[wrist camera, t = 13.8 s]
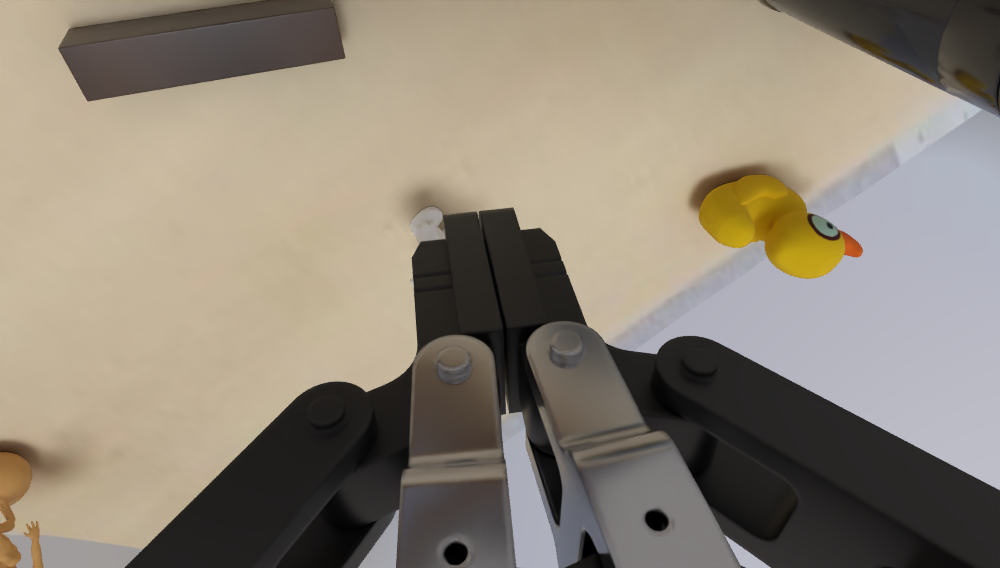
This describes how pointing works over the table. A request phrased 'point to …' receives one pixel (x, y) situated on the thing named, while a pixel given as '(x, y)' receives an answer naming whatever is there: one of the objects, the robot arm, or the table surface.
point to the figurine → (3, 485)
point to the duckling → (775, 226)
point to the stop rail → (200, 46)
